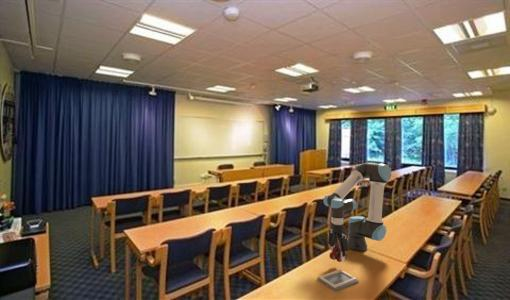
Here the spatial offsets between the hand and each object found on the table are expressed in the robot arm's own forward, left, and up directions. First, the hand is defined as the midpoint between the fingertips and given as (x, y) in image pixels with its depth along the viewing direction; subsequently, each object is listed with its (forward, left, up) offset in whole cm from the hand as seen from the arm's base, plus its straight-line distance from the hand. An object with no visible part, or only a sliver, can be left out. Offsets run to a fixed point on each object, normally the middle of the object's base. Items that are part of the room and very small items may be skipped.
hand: (337, 258), depth 172 cm
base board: (+13, +12, -6) cm, 18 cm away
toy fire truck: (0, 0, -1) cm, 1 cm away
